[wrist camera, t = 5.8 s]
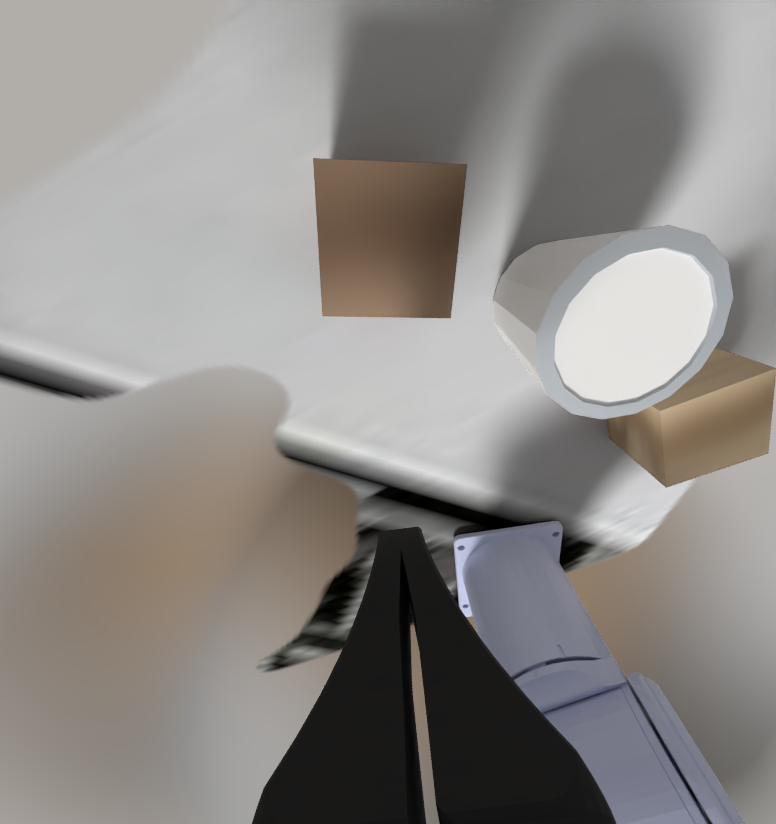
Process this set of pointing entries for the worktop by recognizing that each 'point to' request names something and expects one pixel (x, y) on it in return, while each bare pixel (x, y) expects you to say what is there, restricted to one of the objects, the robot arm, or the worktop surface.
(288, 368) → the worktop surface
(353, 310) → the walnut block
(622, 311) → the white cup
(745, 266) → the worktop surface
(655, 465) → the oak block
